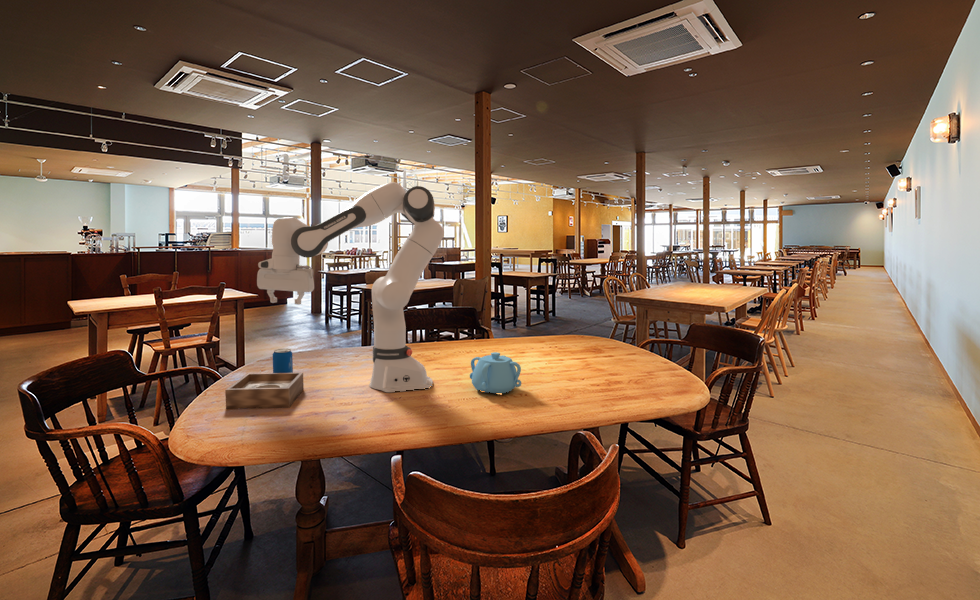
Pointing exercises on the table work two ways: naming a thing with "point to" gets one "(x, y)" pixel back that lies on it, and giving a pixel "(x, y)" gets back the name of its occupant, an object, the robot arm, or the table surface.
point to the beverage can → (282, 361)
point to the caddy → (264, 390)
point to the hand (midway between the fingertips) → (285, 303)
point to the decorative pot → (495, 373)
